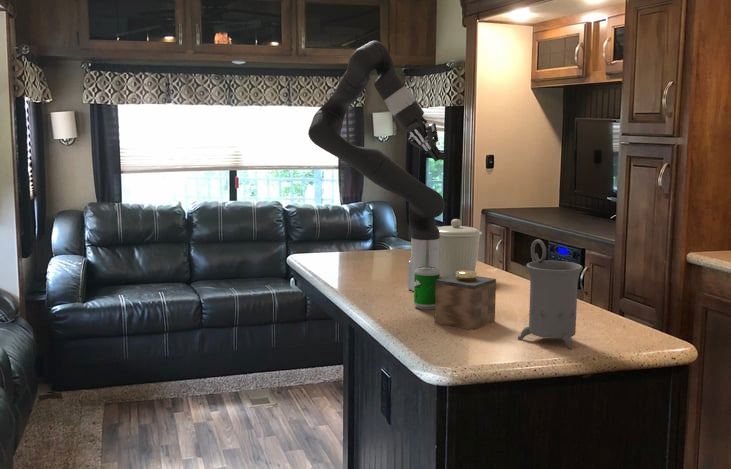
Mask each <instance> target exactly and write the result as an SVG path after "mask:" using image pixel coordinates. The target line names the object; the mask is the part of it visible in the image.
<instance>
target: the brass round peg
mask: <svg viewBox="0 0 731 469" xmlns="http://www.w3.org/2000/svg"><path fill="white" fill-rule="evenodd" d="M476 276H478V275H477V271H476V270H475V271H469V270H461V271H456V280H458V281H476Z"/></svg>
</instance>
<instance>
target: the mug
mask: <svg viewBox="0 0 731 469" xmlns="http://www.w3.org/2000/svg"><path fill="white" fill-rule="evenodd" d="M537 244H539V246H540V247H541V250H542V255H541V258H540V257H539V254H538V253H537V252H536V250H535V249H536V246H537ZM535 252H536V253H535ZM530 257H531V259H532V261H531V262H528V263H526V268H527V270H528V274H529V281H530V282H529V283H530V284H529V286H530V287H529V288H530V289H529V317H528V318H529V319H528V326H526V327H524V328H523V329H522V330H521V333H520V336H519V335H518V336H517V339H518V340H523V339H524V338H525V337H527V336H528V335H533V336H536V337H540V338H546V339H547V338H548V339H562V341H563V342H564V343H565V345H566V346H567V348H568V349H569V350H573V348H574V347H573V346H572V337H574V336H576V330H577V329H576V328H577V327H576V326H577V305H578V304H577V302H578V284H579V278H580V274H581V272H582V270H583V268H584V267H583V265H581V264H579V263H576V262H572V261H563V260H562V261H561V260H546V257H547V247H546V244H545V243H544V241H543V240H541V239H538V238H537V239H535V240H533V241H532V242H531V246H530Z"/></svg>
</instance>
